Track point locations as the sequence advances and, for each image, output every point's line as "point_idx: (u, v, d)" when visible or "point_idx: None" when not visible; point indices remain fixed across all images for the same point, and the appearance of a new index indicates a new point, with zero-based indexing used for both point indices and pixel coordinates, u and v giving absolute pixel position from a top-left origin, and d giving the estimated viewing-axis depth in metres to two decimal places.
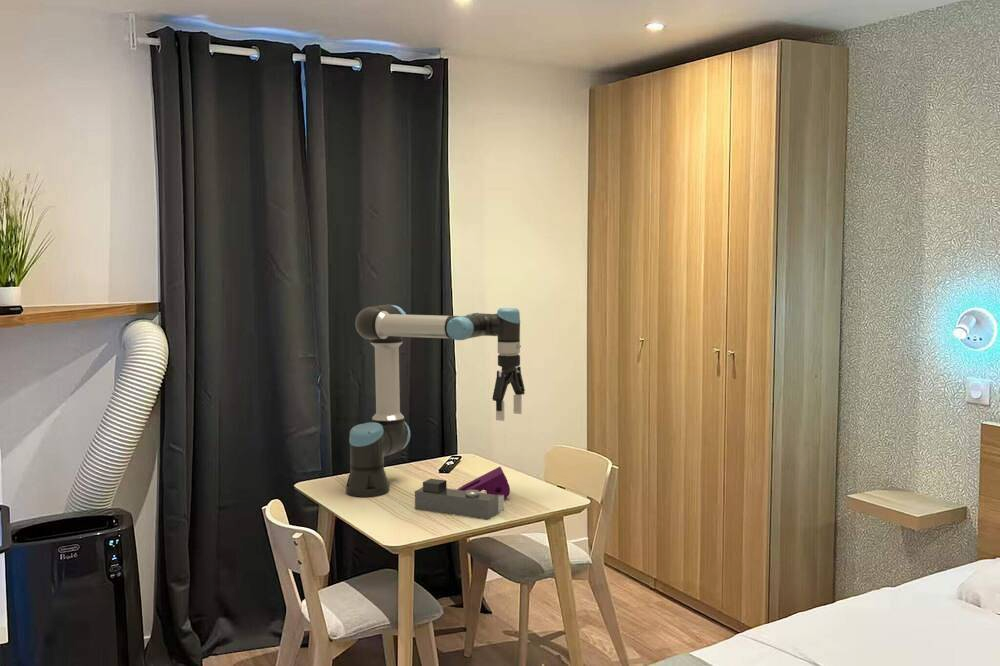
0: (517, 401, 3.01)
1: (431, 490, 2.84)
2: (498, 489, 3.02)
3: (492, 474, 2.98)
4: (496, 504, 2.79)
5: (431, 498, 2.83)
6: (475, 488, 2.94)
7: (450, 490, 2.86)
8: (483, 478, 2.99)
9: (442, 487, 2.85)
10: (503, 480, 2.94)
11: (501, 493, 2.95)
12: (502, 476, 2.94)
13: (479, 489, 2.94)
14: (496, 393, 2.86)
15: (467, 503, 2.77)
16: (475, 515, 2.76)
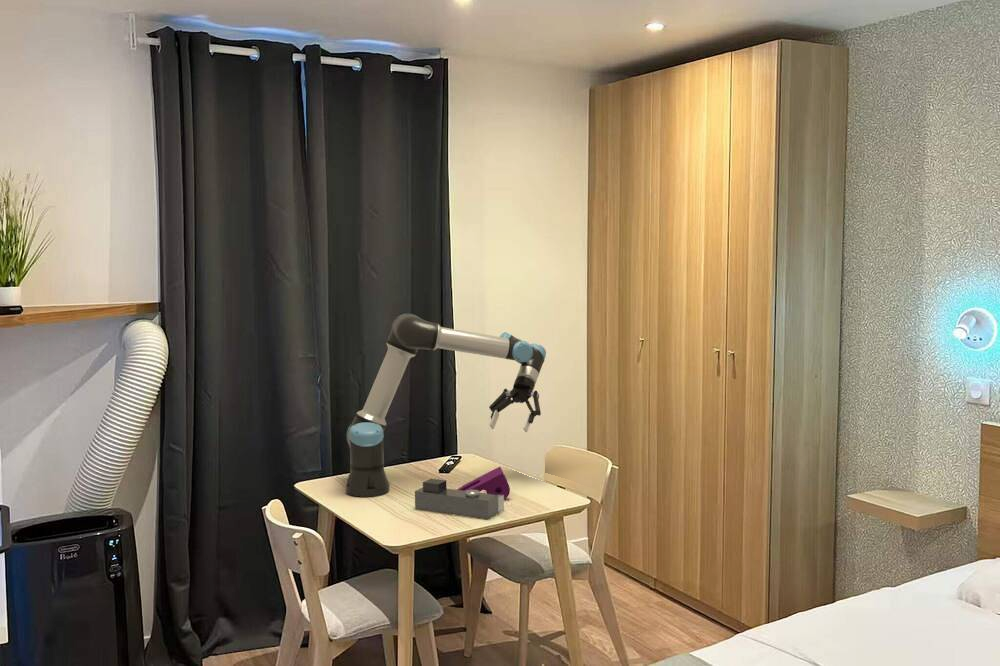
0: (496, 417, 3.20)
1: (431, 490, 2.84)
2: (498, 489, 3.02)
3: (492, 474, 2.99)
4: (496, 504, 2.79)
5: (431, 498, 2.83)
6: (475, 488, 2.94)
7: (450, 490, 2.86)
8: (483, 478, 2.99)
9: (442, 487, 2.85)
10: (503, 480, 2.95)
11: (501, 493, 2.95)
12: (502, 476, 2.94)
13: (479, 489, 2.94)
14: (539, 408, 3.15)
15: (467, 503, 2.77)
16: (475, 515, 2.76)
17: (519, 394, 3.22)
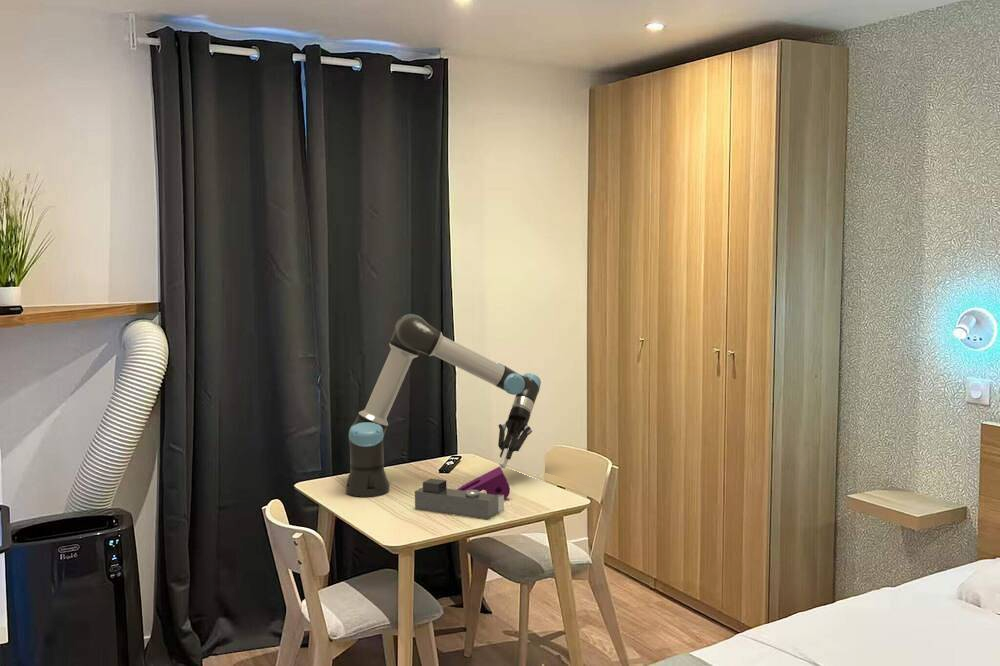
0: None
1: (431, 490, 2.84)
2: (498, 489, 3.02)
3: (492, 474, 2.99)
4: (496, 504, 2.79)
5: (431, 498, 2.83)
6: (475, 488, 2.94)
7: (450, 490, 2.86)
8: (483, 478, 2.99)
9: (442, 487, 2.85)
10: (503, 480, 2.95)
11: (501, 493, 2.95)
12: (502, 476, 2.94)
13: (479, 489, 2.94)
14: (519, 445, 3.14)
15: (467, 503, 2.77)
16: (475, 515, 2.76)
17: (515, 425, 3.19)
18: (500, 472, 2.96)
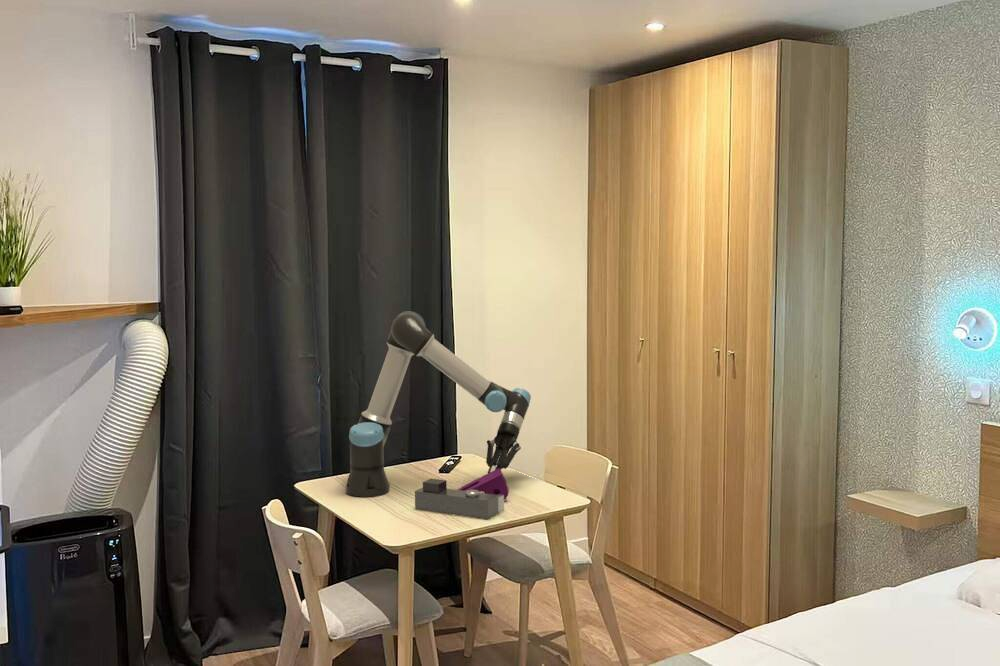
0: None
1: (431, 490, 2.84)
2: (497, 491, 3.00)
3: (491, 475, 2.97)
4: (496, 504, 2.79)
5: (431, 498, 2.83)
6: (473, 489, 2.93)
7: (450, 490, 2.86)
8: (482, 479, 2.98)
9: (442, 487, 2.85)
10: (502, 482, 2.93)
11: None
12: (500, 478, 2.93)
13: None
14: (507, 462, 3.07)
15: (467, 503, 2.77)
16: (475, 515, 2.76)
17: (503, 441, 3.12)
18: (499, 473, 2.94)
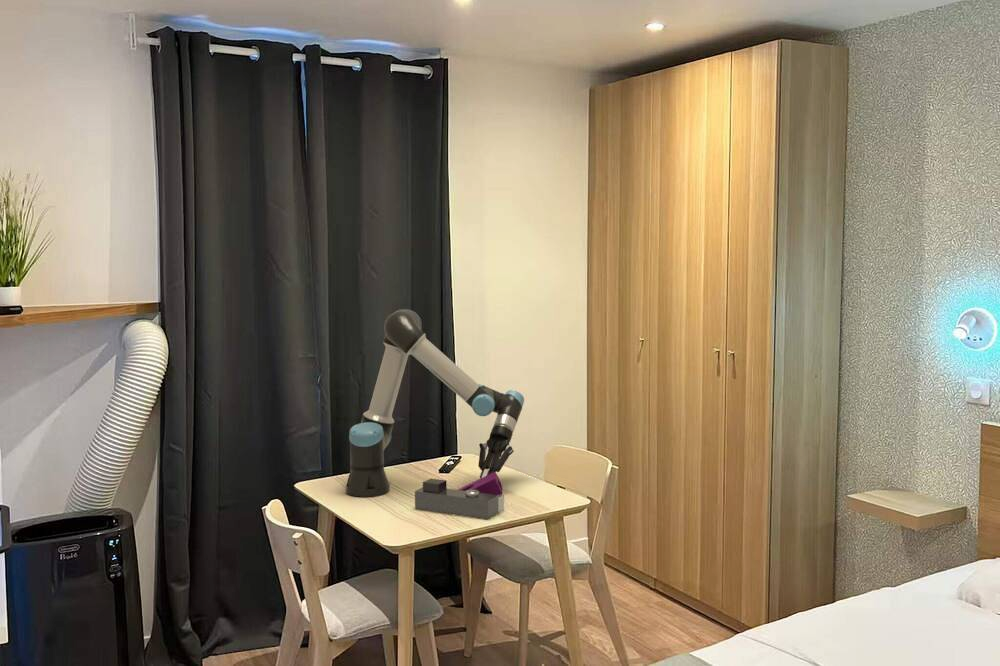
0: None
1: (431, 490, 2.84)
2: None
3: (485, 479, 2.92)
4: (496, 504, 2.79)
5: (431, 498, 2.83)
6: None
7: (450, 490, 2.86)
8: (476, 483, 2.93)
9: (442, 487, 2.85)
10: (496, 486, 2.88)
11: None
12: (494, 482, 2.88)
13: None
14: (500, 466, 3.02)
15: (467, 503, 2.77)
16: (475, 515, 2.76)
17: (496, 444, 3.07)
18: (493, 477, 2.89)
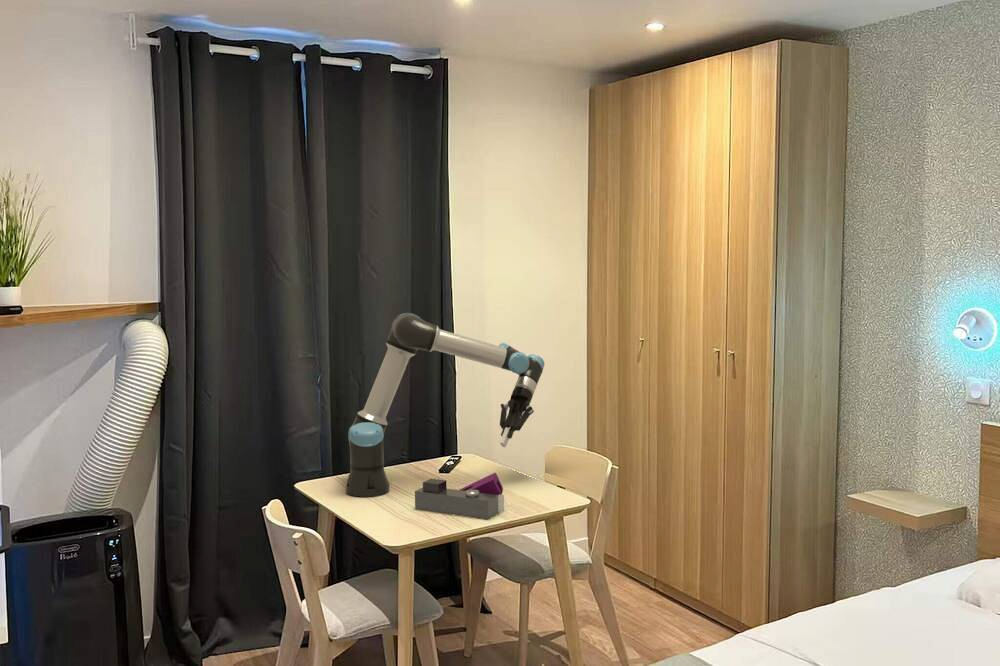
0: None
1: (431, 490, 2.84)
2: None
3: (485, 480, 2.91)
4: (496, 504, 2.79)
5: (431, 498, 2.83)
6: None
7: (450, 490, 2.86)
8: (476, 484, 2.92)
9: (442, 487, 2.85)
10: (494, 487, 2.86)
11: None
12: (492, 483, 2.86)
13: None
14: (520, 425, 3.14)
15: (467, 503, 2.77)
16: (475, 515, 2.76)
17: (517, 405, 3.19)
18: (492, 478, 2.88)
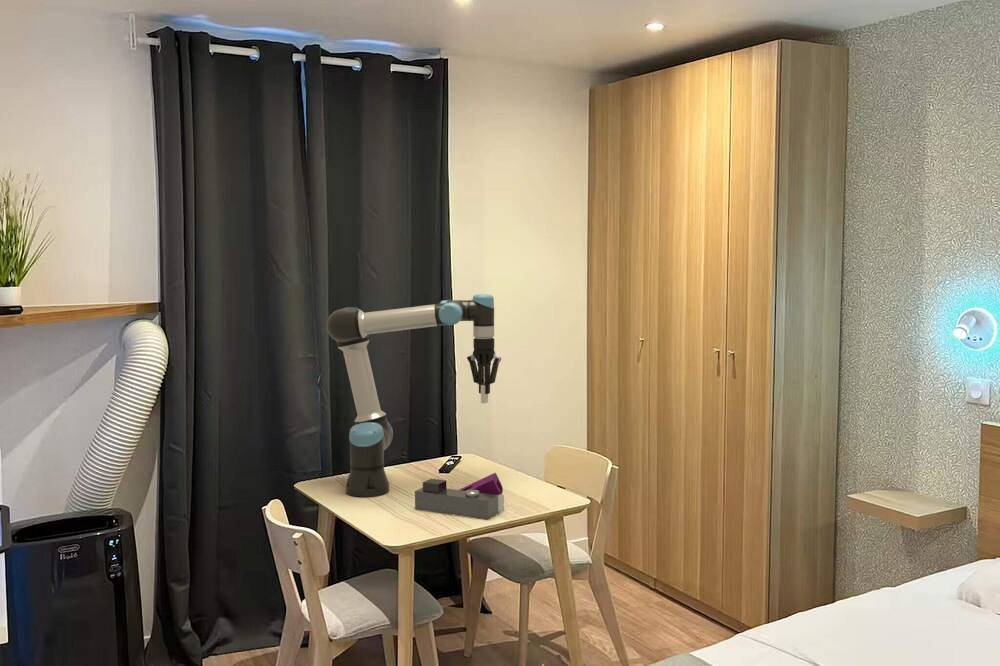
0: None
1: (431, 490, 2.84)
2: None
3: (485, 480, 2.91)
4: (496, 504, 2.79)
5: (431, 498, 2.83)
6: None
7: (450, 490, 2.86)
8: (476, 484, 2.92)
9: (442, 487, 2.85)
10: (494, 487, 2.86)
11: None
12: (492, 483, 2.86)
13: None
14: (494, 378, 3.13)
15: (467, 503, 2.77)
16: (475, 515, 2.76)
17: (483, 357, 3.14)
18: (491, 478, 2.88)
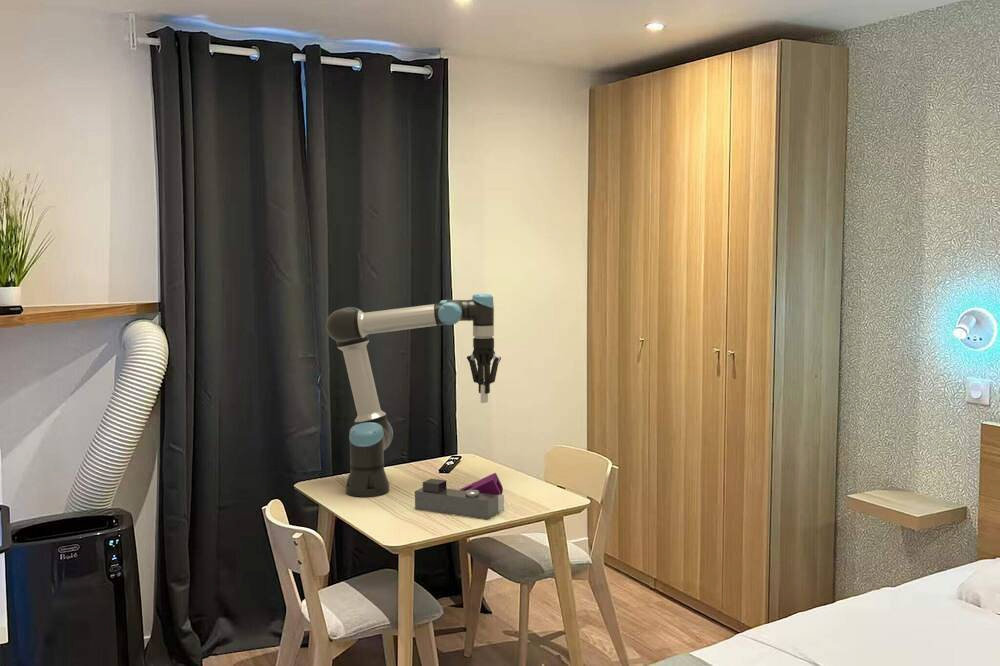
0: None
1: (431, 490, 2.84)
2: None
3: (484, 480, 2.91)
4: (496, 504, 2.79)
5: (431, 498, 2.83)
6: None
7: (450, 490, 2.86)
8: (476, 484, 2.92)
9: (442, 487, 2.85)
10: (494, 487, 2.86)
11: None
12: (492, 483, 2.86)
13: None
14: (493, 378, 3.13)
15: (467, 503, 2.77)
16: (475, 515, 2.76)
17: (482, 356, 3.13)
18: (491, 479, 2.88)
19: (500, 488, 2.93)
